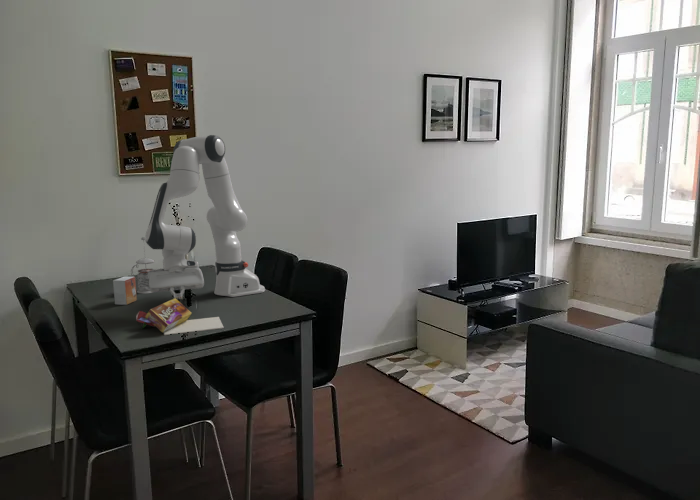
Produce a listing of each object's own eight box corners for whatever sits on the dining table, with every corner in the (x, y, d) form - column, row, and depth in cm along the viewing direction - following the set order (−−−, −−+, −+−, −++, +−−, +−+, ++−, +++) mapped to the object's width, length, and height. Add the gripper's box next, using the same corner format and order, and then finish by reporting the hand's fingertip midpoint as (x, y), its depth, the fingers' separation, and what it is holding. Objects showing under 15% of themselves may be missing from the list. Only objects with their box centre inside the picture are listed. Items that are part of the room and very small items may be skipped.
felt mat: (218, 317, 219) (218, 316, 219) (223, 328, 206) (223, 327, 206) (162, 323, 212) (162, 322, 212) (164, 335, 199) (164, 334, 199)
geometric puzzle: (164, 318, 212) (150, 302, 211) (158, 324, 205) (144, 307, 204) (149, 329, 213) (135, 313, 211) (143, 335, 206) (128, 319, 205)
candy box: (169, 305, 216) (144, 316, 202) (175, 297, 215) (150, 307, 201) (186, 321, 215) (162, 333, 201) (192, 313, 214) (168, 324, 199)
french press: (154, 293, 257) (150, 238, 253) (128, 293, 258) (124, 239, 253) (161, 288, 267) (158, 235, 263) (137, 288, 267) (132, 235, 263)
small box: (126, 305, 239) (124, 280, 237) (114, 304, 240) (112, 280, 238) (137, 300, 246) (135, 276, 245) (125, 299, 248) (123, 276, 246)
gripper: (146, 265, 217) (148, 297, 210) (202, 261, 224) (205, 291, 217) (147, 274, 222) (149, 305, 215) (201, 270, 229) (205, 300, 222)
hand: (178, 298), depth 216 cm, fingers closed
